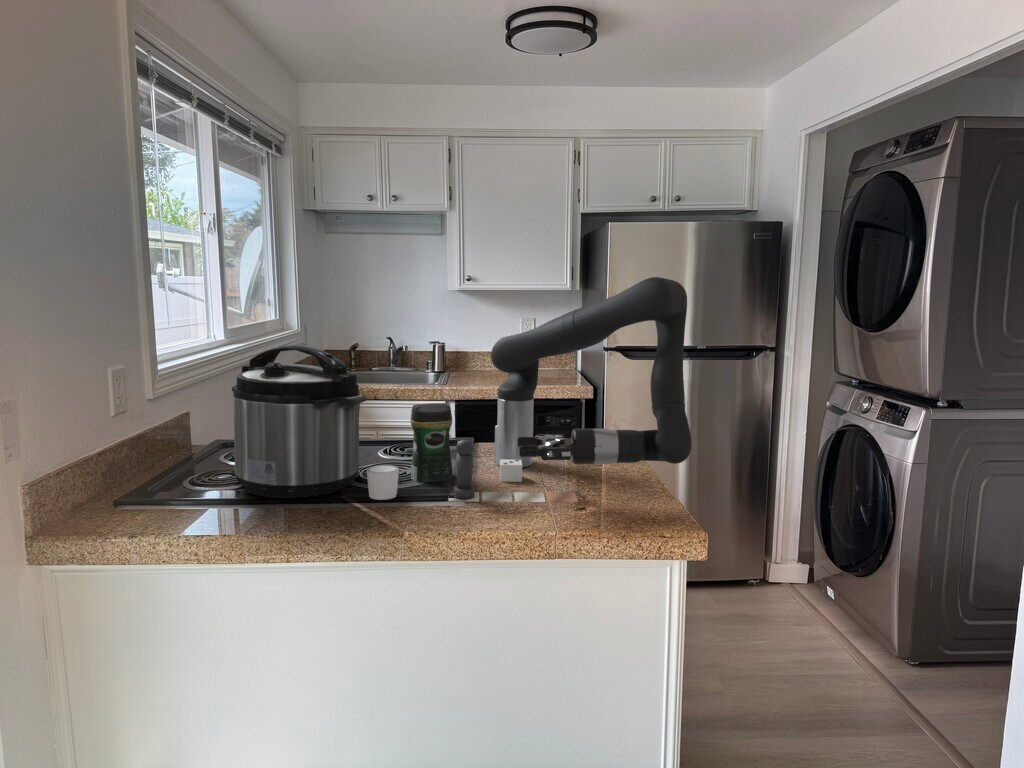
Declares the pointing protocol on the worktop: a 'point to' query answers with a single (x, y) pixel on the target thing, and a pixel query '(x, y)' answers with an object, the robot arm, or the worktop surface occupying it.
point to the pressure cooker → (296, 425)
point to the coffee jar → (431, 442)
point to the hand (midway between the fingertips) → (518, 446)
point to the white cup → (382, 481)
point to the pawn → (464, 471)
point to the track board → (525, 497)
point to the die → (510, 470)
